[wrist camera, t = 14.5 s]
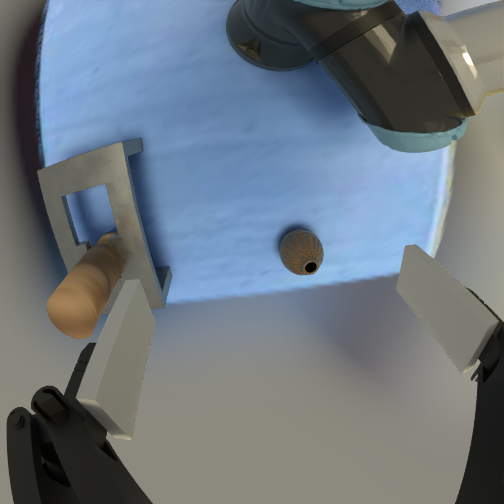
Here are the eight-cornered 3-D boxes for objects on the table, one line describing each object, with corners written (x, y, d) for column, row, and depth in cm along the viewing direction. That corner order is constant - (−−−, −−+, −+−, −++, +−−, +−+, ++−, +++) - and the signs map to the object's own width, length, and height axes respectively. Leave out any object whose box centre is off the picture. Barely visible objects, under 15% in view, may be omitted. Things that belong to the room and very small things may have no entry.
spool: (92, 234, 37) (38, 296, 22) (125, 227, 37) (78, 292, 22) (104, 268, 40) (61, 339, 24) (136, 263, 40) (101, 338, 25)
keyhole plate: (66, 160, 35) (37, 171, 27) (141, 138, 36) (121, 141, 28) (104, 285, 46) (87, 315, 38) (172, 276, 46) (164, 307, 38)
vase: (272, 259, 47) (283, 286, 40) (279, 221, 44) (293, 243, 37) (309, 262, 49) (326, 288, 41) (318, 226, 46) (338, 248, 38)
